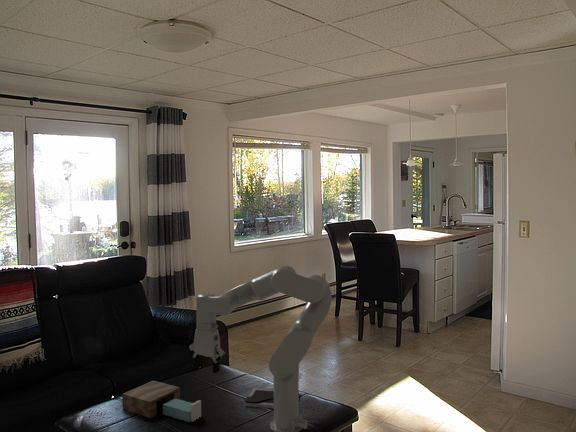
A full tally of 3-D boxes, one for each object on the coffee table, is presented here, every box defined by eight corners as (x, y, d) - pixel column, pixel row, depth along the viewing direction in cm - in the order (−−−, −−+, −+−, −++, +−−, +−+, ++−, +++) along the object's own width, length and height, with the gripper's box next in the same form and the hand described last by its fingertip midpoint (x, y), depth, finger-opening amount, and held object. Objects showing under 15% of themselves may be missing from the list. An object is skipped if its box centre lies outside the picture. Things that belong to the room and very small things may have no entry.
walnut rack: (180, 402, 209) (179, 387, 208) (150, 418, 194) (149, 401, 194) (153, 394, 217) (153, 380, 217) (122, 409, 202) (122, 393, 202)
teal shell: (202, 415, 196) (202, 399, 195) (190, 422, 190) (190, 406, 189) (175, 407, 203) (175, 392, 203) (162, 414, 197) (162, 398, 197)
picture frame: (244, 407, 204) (293, 411, 200) (244, 401, 204) (293, 404, 200) (253, 393, 219) (299, 395, 216) (253, 386, 219) (298, 389, 216)
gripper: (230, 326, 187) (230, 371, 188) (196, 320, 196) (196, 363, 197) (217, 331, 181) (217, 377, 181) (182, 325, 190) (183, 368, 190)
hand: (206, 369), depth 189 cm, fingers open, 9 cm apart
